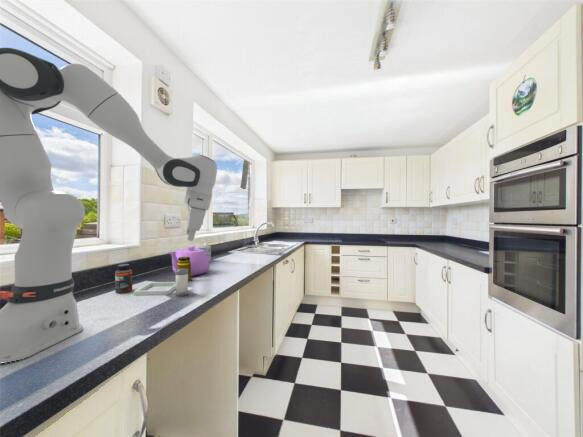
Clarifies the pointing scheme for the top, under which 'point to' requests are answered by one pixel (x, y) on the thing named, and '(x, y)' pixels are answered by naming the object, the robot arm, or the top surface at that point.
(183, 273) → the salt shaker
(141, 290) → the parts tray
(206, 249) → the light bulb box
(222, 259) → the top surface
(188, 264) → the condiment
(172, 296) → the holder
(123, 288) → the supplement bottle
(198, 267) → the teapot
